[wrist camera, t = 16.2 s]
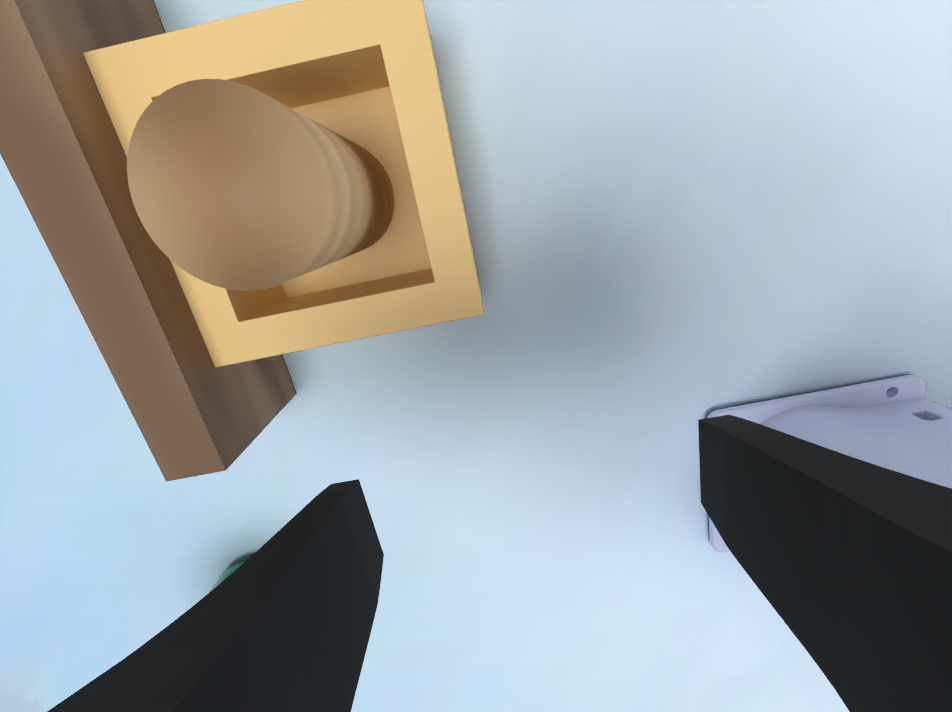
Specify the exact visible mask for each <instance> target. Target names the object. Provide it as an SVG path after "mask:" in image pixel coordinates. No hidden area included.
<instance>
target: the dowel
mask: <svg viewBox="0 0 952 712" xmlns="http://www.w3.org/2000/svg"><path fill="white" fill-rule="evenodd" d="M127 176H128V185H129V189H130V194H131V198H132V201H133V204H134V206H135V209H136V212H137V214H138V216H139V218H140V220H141V222H142V224H143V226H144V228H145V229H146V231H147V232H148V234H149V236H150V237H151V239H152V240H153V241H154V242H155V244H156V245H157V246H158V247H159V249H160V250H161V251H162V252H163V253H164V254H165V255H166V256H167V257H168V258H169V259H170V260H171V261H173V262H174V263H175V264H176V265H178V266H179V267H180V268H181V269H183V270H184V271H186V272H187V273H189V274H190V275H192V276H194V277H196V278H198V279H200V280H202V281H204V282H206V283H209V284H212V285H214V286H217V287H221V288H225V289H230V290H238V291H255V290H262V289H267V288H271V287H274V286H277V285H280V284H282V283H284V282H287V281H289V280H292V279H294V278H297V277H299V276H301V275H304V274H306V273H309V272H311V271H314V270H316V269H318V268H321V267H323V266H326V265H328V264H331V263H333V262H335V261H338V260H340V259H343V258H345V257H347V256H350V255H352V254H355V253H357V252H360V251H362V250H364V249H367V248H369V247H370V246H372V245H373V244H375V243H376V242H377V241H378V240H379V239H380V238H381V237H382V236H383V235H384V233H385V232H386V230H387V229H388V227H389V225H390V222H391V219H392V216H393V211H394V194H393V188H392V185H391V181H390V179H389V177H388V174H387V172H386V171H385V169H384V167H383V166H382V165H381V163H380V162H379V161H378V160H377V159H376V158H375V157H374V156H373V155H372V154H371V153H370V152H369V151H367V150H366V149H364V148H362V147H361V146H359V145H357V144H355V143H354V142H352V141H350V140H348V139H346V138H344V137H343V136H341V135H339V134H337V133H335V132H333V131H332V130H330V129H328V128H326V127H324V126H322V125H321V124H319V123H317V122H315V121H313V120H311V119H310V118H308V117H306V116H304V115H302V114H300V113H299V112H297V111H295V110H293V109H291V108H289V107H288V106H286V105H284V104H282V103H280V102H278V101H277V100H275V99H273V98H271V97H269V96H267V95H266V94H264V93H262V92H260V91H258V90H256V89H253V88H251V87H249V86H247V85H244V84H240V83H237V82H233V81H228V80H222V79H199V80H192V81H188V82H185V83H182V84H179V85H176V86H174V87H172V88H170V89H168V90H166V91H165V92H163V93H162V94H161V95H159V96H158V97H157V98H155V99H154V100H153V101H152V102H151V103H150V105H149V106H148V107H147V108H146V109H145V110H144V112H143V113H142V115H141V116H140V118H139V119H138V121H137V123H136V126H135V128H134V130H133V133H132V136H131V139H130V143H129V148H128V155H127Z"/></svg>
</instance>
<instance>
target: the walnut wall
mask: <svg viewBox="0 0 952 712" xmlns="http://www.w3.org/2000/svg"><path fill="white" fill-rule="evenodd" d="M164 33H165V32H164V29H163V26H162V24H161V21H160V18H159V15H158V13H157V10H156V7H155V4H154V2H153V0H0V154H1V156H2V158H3V160H4V162H5V164H6V166H7V168H8V170H9V172H10V174H11V176H12V178H13V180H14V181H15V183H16V185H17V187H18V189H19V191H20V193H21V195H22V197H23V199H24V201H25V203H26V205H27V207H28V209H29V211H30V213H31V215H32V217H33V219H34V221H35V223H36V225H37V227H38V229H39V231H40V233H41V235H42V237H43V239H44V241H45V243H46V245H47V247H48V249H49V251H50V253H51V255H52V257H53V259H54V260H55V262H56V264H57V266H58V268H59V270H60V272H61V274H62V276H63V278H64V280H65V282H66V284H67V286H68V288H69V290H70V292H71V294H72V296H73V298H74V300H75V302H76V304H77V306H78V308H79V310H80V312H81V314H82V316H83V318H84V320H85V322H86V324H87V326H88V328H89V330H90V332H91V334H92V336H93V338H94V340H95V341H96V343H97V345H98V347H99V349H100V351H101V353H102V355H103V357H104V359H105V361H106V363H107V365H108V367H109V369H110V371H111V373H112V375H113V377H114V379H115V381H116V383H117V385H118V387H119V389H120V391H121V393H122V395H123V397H124V399H125V401H126V403H127V405H128V407H129V409H130V411H131V413H132V415H133V417H134V419H135V420H136V422H137V424H138V426H139V428H140V430H141V432H142V434H143V436H144V438H145V440H146V442H147V444H148V446H149V448H150V450H151V452H152V454H153V456H154V458H155V460H156V462H157V464H158V466H159V468H160V470H161V472H162V474H163V476H164V478H165V480H166V481H171V480H176V479H182V478H187V477H192V476H198V475H203V474H209V473H214V472H219V471H225V470H226V469H227V468H228V467H229V466H230V465H231V464H232V463H233V462H234V461H235V460H236V459H237V458H238V456H239V455H240V454H241V453H242V452H243V451H244V450H245V449H246V448H247V447H248V446H249V445H250V443H251V442H252V441H253V440H254V439H255V438H256V437H257V436H258V435H259V434H260V433H261V431H262V430H263V429H264V428H265V427H266V426H267V425H268V424H269V423H270V422H271V421H272V420H273V418H274V417H275V416H276V415H277V414H278V413H279V412H280V411H281V410H282V409H283V408H284V407H285V405H286V404H287V403H288V402H289V401H290V400H291V399H292V398H293V397H294V396H295V395H296V392H295V389H294V386H293V384H292V381H291V378H290V375H289V373H288V370H287V367H286V364H285V362H284V359H283V356H282V354H281V355H275V356H270V357H265V358H260V359H255V360H250V361H245V362H240V363H235V364H230V365H225V366H220V367H215V365H214V363H213V361H212V358H211V356H210V354H209V351H208V349H207V346H206V344H205V342H204V339H203V337H202V335H201V332H200V330H199V327H198V325H197V323H196V320H195V318H194V316H193V313H192V311H191V308H190V306H189V304H188V301H187V299H186V297H185V294H184V292H183V289H182V287H181V285H180V282H179V280H178V278H177V275H176V273H175V270H174V268H173V266H172V263H171V261H170V259H169V258H168V257H167V256H166V255H165V254H164V253H163V252H162V251H161V250H160V249H159V247H158V246H157V245H156V244H155V242H154V241H153V240H152V239H151V237H150V236H149V234H148V232H147V231H146V229H145V228H144V226H143V224H142V222H141V220H140V218H139V216H138V214H137V212H136V209H135V206H134V204H133V201H132V198H131V194H130V189H129V185H128V176H127V156H126V154H125V152H124V149H123V147H122V144H121V142H120V140H119V137H118V135H117V133H116V130H115V128H114V125H113V123H112V121H111V118H110V116H109V114H108V111H107V109H106V106H105V104H104V102H103V99H102V97H101V95H100V92H99V90H98V87H97V85H96V83H95V80H94V78H93V76H92V73H91V71H90V68H89V66H88V64H87V61H86V59H85V57H84V54H83V53H84V52H89V51H93V50H97V49H101V48H105V47H110V46H114V45H118V44H122V43H126V42H130V41H135V40H139V39H143V38H147V37H151V36H156V35H160V34H164Z"/></svg>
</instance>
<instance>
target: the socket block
mask: <svg viewBox="0 0 952 712" xmlns="http://www.w3.org/2000/svg"><path fill="white" fill-rule="evenodd" d="M83 54H84V57H85V59H86V61H87V64H88V66H89V68H90V71H91V73H92V76H93V78H94V80H95V83H96V85H97V87H98V90H99V92H100V95H101V97H102V99H103V102H104V104H105V106H106V109H107V111H108V114H109V116H110V118H111V121H112V123H113V125H114V128H115V130H116V133H117V135H118V137H119V140H120V142H121V144H122V147H123V149H124V152H125V154H126V156H127V155H128V148H129V143H130V139H131V136H132V133H133V130H134V128H135V126H136V123H137V121H138V119H139V118H140V116H141V115H142V113H143V112H144V110H145V109H146V108H147V107H148V106H149V105H150V103H151V102H152V101H153V100H154V99H155V98H157V97H158V96H159V95H161V94H162V93H163V92H165V91H166V90H168V89H170V88H172V87H174V86H176V85H179V84H182V83H185V82H188V81H192V80H199V79H222V80H228V81H233V82H237V83H240V84H244V85H247V86H249V87H251V88H253V89H256V90H258V91H260V92H262V93H264V94H266V95H267V96H269V97H271V98H273V99H275V100H277V101H278V102H280V103H282V104H284V105H286V106H288V107H289V108H291V109H293V110H295V111H297V112H299V113H300V114H302V115H304V116H306V117H308V118H310V119H311V120H313V121H315V122H317V123H319V124H321V125H322V126H324V127H326V128H328V129H330V130H332V131H333V132H335V133H337V134H339V135H341V136H343V137H344V138H346V139H348V140H350V141H352V142H354V143H355V144H357V145H359V146H361V147H362V148H364V149H366V150H367V151H369V152H370V153H371V154H372V155H373V156H374V157H375V158H376V159H377V160H378V161H379V162H380V163H381V165H382V166H383V167H384V169H385V171H386V172H387V174H388V177H389V179H390V181H391V185H392V188H393V194H394V211H393V216H392V219H391V222H390V225H389V227H388V229H387V230H386V232H385V233H384V235H383V236H382V237H381V238H380V239H379V240H378V241H377V242H376V243H375V244H373V245H372V246H370V247H369V248H367V249H364V250H362V251H360V252H357V253H355V254H352V255H350V256H347V257H345V258H343V259H340V260H338V261H335V262H333V263H331V264H328V265H326V266H323V267H321V268H318V269H316V270H314V271H311V272H309V273H306V274H304V275H301V276H299V277H297V278H294V279H292V280H289V281H287V282H284V283H282V284H280V285H277V286H274V287H271V288H267V289H262V290H255V291H238V290H230V289H225V288H221V287H217V286H214V285H212V284H209V283H206V282H204V281H202V280H200V279H198V278H196V277H194V276H192V275H190V274H189V273H187V272H186V271H184V270H183V269H181V268H180V267H179V266H178V265H176V264H175V263H174V262H173V261H171V260H170V261H171V263H172V266H173V268H174V270H175V273H176V275H177V278H178V280H179V282H180V285H181V287H182V289H183V292H184V294H185V297H186V299H187V301H188V304H189V306H190V308H191V311H192V313H193V316H194V318H195V320H196V323H197V325H198V327H199V330H200V332H201V335H202V337H203V339H204V342H205V344H206V346H207V349H208V351H209V354H210V356H211V358H212V361H213V363H214V365H215V367H220V366H225V365H230V364H235V363H240V362H245V361H250V360H255V359H260V358H265V357H270V356H275V355H281V354H286V353H291V352H296V351H301V350H306V349H311V348H316V347H321V346H326V345H331V344H336V343H341V342H346V341H351V340H356V339H362V338H367V337H372V336H377V335H382V334H387V333H392V332H397V331H402V330H407V329H412V328H417V327H422V326H427V325H432V324H437V323H443V322H448V321H453V320H458V319H463V318H468V317H473V316H478V315H483V314H484V312H483V304H482V297H481V289H480V284H479V279H478V274H477V269H476V264H475V259H474V254H473V249H472V243H471V238H470V233H469V228H468V223H467V218H466V213H465V208H464V203H463V198H462V193H461V187H460V182H459V177H458V172H457V167H456V162H455V157H454V152H453V147H452V142H451V137H450V131H449V126H448V121H447V116H446V111H445V106H444V101H443V96H442V91H441V86H440V81H439V75H438V70H437V65H436V60H435V55H434V50H433V45H432V40H431V35H430V31H429V26H428V22H427V18H426V13H425V9H424V4H423V0H302V1H298V2H294V3H289V4H285V5H281V6H277V7H273V8H269V9H264V10H260V11H256V12H252V13H248V14H243V15H239V16H235V17H231V18H227V19H223V20H218V21H214V22H210V23H206V24H202V25H197V26H193V27H189V28H185V29H181V30H177V31H172V32H168V33H164V34H160V35H156V36H151V37H147V38H143V39H139V40H135V41H130V42H126V43H122V44H118V45H114V46H110V47H105V48H101V49H97V50H93V51H89V52H84V53H83Z"/></svg>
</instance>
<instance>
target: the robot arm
mask: <svg viewBox="0 0 952 712" xmlns="http://www.w3.org/2000/svg"><path fill="white" fill-rule="evenodd" d="M889 388H890V389H889ZM888 389H889V391H888V392H887V390H888ZM925 390H926V381H925V380H924V379H923V378H921V377H918V376H915V375H906V376H900V377H895V378H889V379H884V380H878V381H873V382H867V383H862V384H856V385H851V386H845V387H840V388H834V389H829V390H823V391H818V392H812V393H807V394H801V395H796V396H790V397H785V398H779V399H774V400H768V401H763V402H757V403H752V404H746V405H741V406H735V407H730V408H724V409H719V410H715V411H712V412H711V413H710V414H709V415H708V417H707V418H706V419H700V420H698V422H699V454H700V485H701V503H702V505H703V507H704V508H705V510H706V512H707V514H708V515H709V535H710V545H711V546H712V547H713V549H714V550H715V551H717V552H728V551H731V552H732V554H733V555H734V557H735V558H736V559H737V561H738V562H739V563H740V564H741V566H742V567H743V568H744V570H745V571H746V572H747V574H748V575H749V576H750V578H751V579H752V580H753V582H754V583H755V584H756V585H757V587H758V588H759V589H760V591H761V592H762V593H763V595H764V596H765V597H766V598H767V600H768V601H769V602H770V604H771V605H772V606H773V607H774V609H775V610H776V611H777V613H778V614H779V615H780V616H781V618H782V619H783V620H784V622H785V623H786V624H787V626H788V627H789V628H790V629H791V631H792V632H793V633H794V635H795V636H796V637H797V638H798V640H799V641H800V642H801V644H802V645H803V646H804V648H805V649H806V650H807V651H808V653H809V654H810V655H811V657H812V658H813V659H814V661H815V662H816V663H817V665H818V666H819V667H820V669H821V670H822V672H823V673H824V674H825V676H826V677H827V679H828V680H829V681H830V683H831V684H832V686H833V687H834V688H835V690H836V691H837V693H838V694H839V696H840V697H841V699H842V700H843V702H844V704H845V705H846V707H847V708H848V710H849V711H850V712H952V409H949V408H947V407H944V406H942V405H940V404H937V403H935V402H933V401H930V400H928V399H925V398H924V396H925ZM886 392H887V393H886ZM383 556H384V554H383V551H382V548H381V545H380V542H379V539H378V536H377V533H376V530H375V527H374V524H373V521H372V518H371V515H370V512H369V509H368V506H367V503H366V500H365V497H364V494H363V491H362V488H361V485H360V482H359V479H358V480H352V481H347V482H341V483H335V484H331V485H330V486H328V487H327V488H326V489H325V490H323V491H322V492H321V493H320V494H319V495H318V496H316V497H315V498H314V499H313V500H312V501H311V502H310V503H309V504H308V505H306V506H305V507H304V508H303V509H302V510H301V511H300V512H299V513H298V514H297V515H296V516H295V517H294V518H292V519H291V520H290V521H289V522H288V523H287V524H286V525H285V526H284V527H283V528H282V529H281V530H280V531H278V532H277V533H276V534H275V535H274V536H273V537H272V538H271V539H270V540H269V541H268V542H267V543H266V544H264V545H263V546H262V547H261V548H260V549H259V550H258V551H257V552H256V553H255V554H254V555H252V556H251V557H250V558H249V559H248V560H247V561H245V562H244V563H243V564H242V565H241V566H240V567H239V568H237V569H236V570H235V571H234V572H233V573H232V574H230V575H229V576H228V577H227V578H226V579H225V580H224V581H222V582H221V583H220V584H219V585H218V586H217V587H215V588H214V589H213V590H212V591H211V592H210V593H209V594H207V595H206V596H205V597H204V598H203V599H201V600H200V601H199V602H198V603H197V604H195V605H194V606H193V607H192V608H190V609H189V610H188V611H187V612H185V613H184V614H183V615H182V616H180V617H179V618H178V619H177V620H175V621H174V622H173V623H171V624H170V625H169V626H167V627H166V628H165V629H164V630H162V631H161V632H160V633H158V634H157V635H156V636H154V637H153V638H152V639H150V640H149V641H148V642H146V643H145V644H144V645H142V646H141V647H140V648H138V649H137V650H136V651H134V652H133V653H132V654H130V655H129V656H127V657H126V658H125V659H123V660H122V661H120V662H119V663H118V664H116V665H115V666H113V667H112V668H110V669H109V670H107V671H106V672H104V673H103V674H102V675H100V676H99V677H97V678H96V679H94V680H93V681H91V682H90V683H88V684H87V685H86V686H84V687H83V688H81V689H80V690H78V691H77V692H75V693H74V694H72V695H71V696H70V697H68V698H67V699H65V700H64V701H62V702H61V703H59V704H58V705H56V706H55V707H54V708H52V709H51V710H49V711H48V712H351V708H352V704H353V700H354V696H355V692H356V688H357V684H358V680H359V676H360V672H361V668H362V664H363V661H364V657H365V653H366V649H367V645H368V641H369V637H370V633H371V629H372V625H373V621H374V616H375V612H376V608H377V604H378V597H379V590H380V583H381V574H382V565H383Z"/></svg>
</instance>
